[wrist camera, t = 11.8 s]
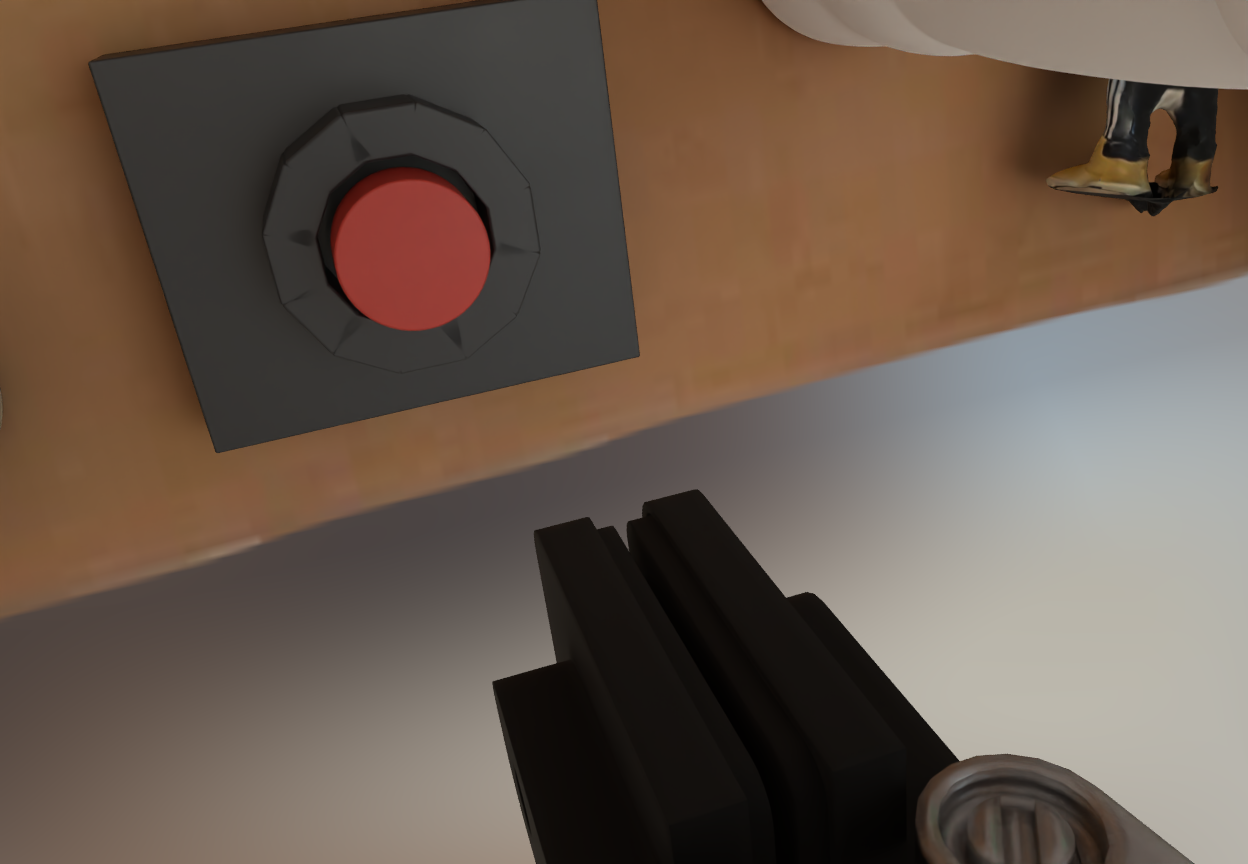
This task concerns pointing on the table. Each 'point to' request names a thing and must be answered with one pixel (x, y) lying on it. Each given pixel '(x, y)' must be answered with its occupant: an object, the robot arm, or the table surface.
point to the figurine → (1126, 153)
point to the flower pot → (1, 409)
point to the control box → (338, 159)
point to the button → (409, 249)
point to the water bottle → (1049, 34)
